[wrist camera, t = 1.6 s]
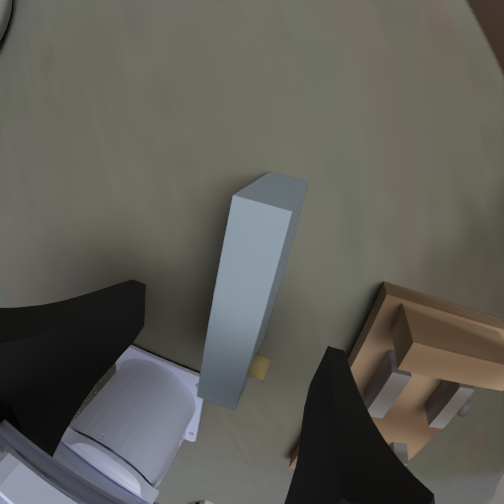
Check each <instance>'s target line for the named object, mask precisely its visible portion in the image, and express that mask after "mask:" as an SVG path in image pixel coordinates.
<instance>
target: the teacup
mask: <svg viewBox="0 0 504 504" xmlns="http://www.w3.org/2000/svg"><path fill="white" fill-rule="evenodd" d="M11 9H12V0H0V41H1V39H2V37H3V35H4V33H5V31H6V28H7V25H8V22H9V19H10V15H11Z"/></svg>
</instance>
